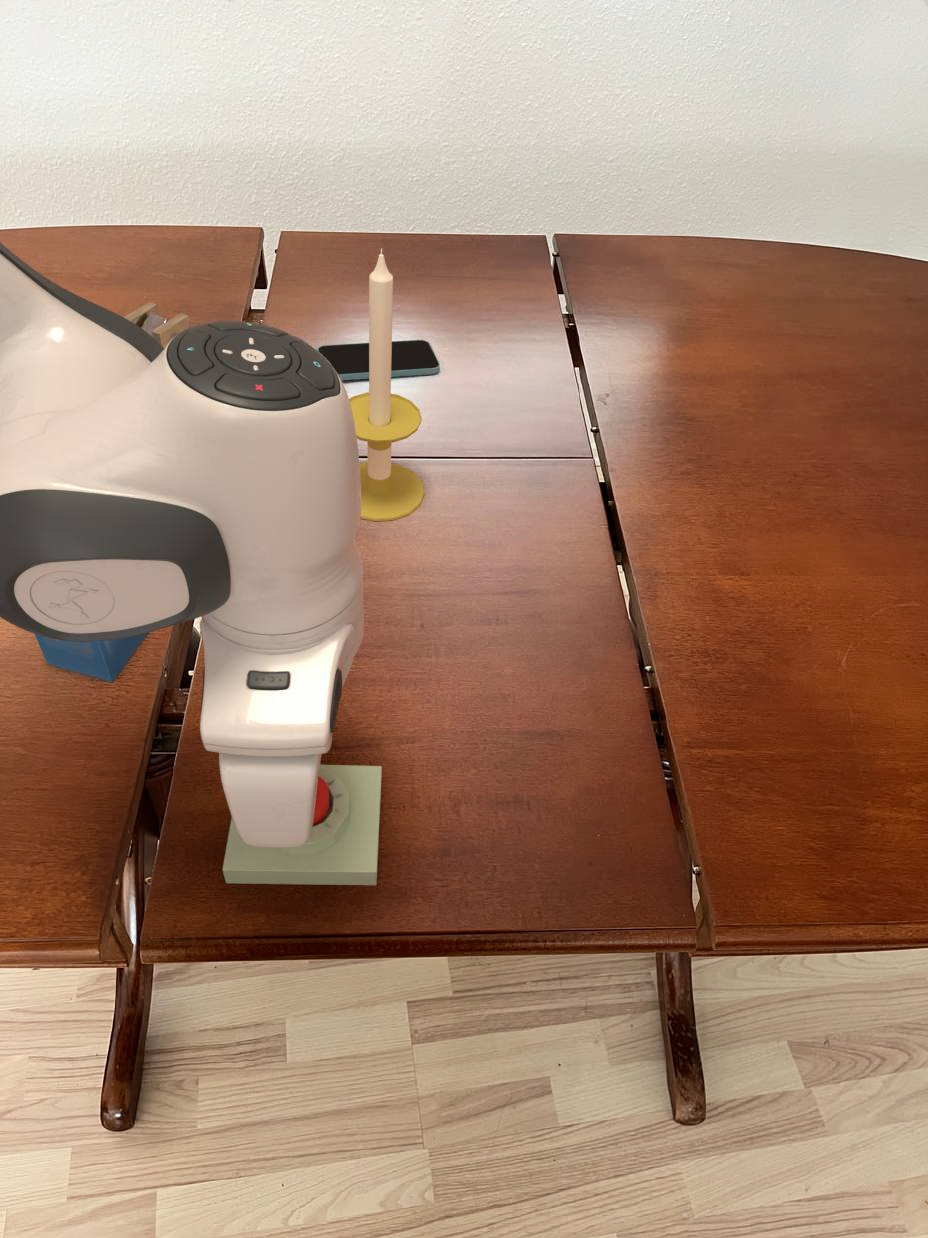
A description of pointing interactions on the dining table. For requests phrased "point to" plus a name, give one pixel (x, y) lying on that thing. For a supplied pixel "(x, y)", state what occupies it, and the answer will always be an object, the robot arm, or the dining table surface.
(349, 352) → the smartphone
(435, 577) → the dining table surface
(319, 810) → the button
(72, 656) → the perfume bottle
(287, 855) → the control box
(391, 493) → the candle
